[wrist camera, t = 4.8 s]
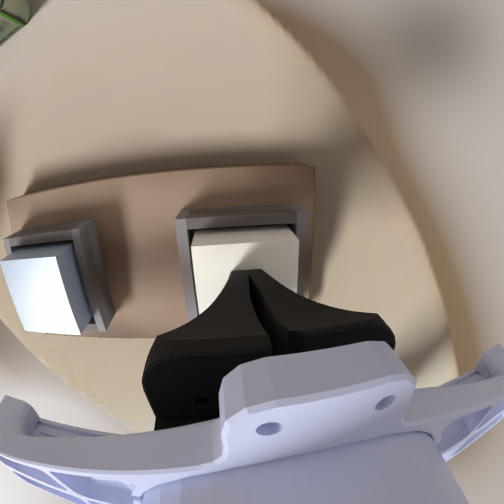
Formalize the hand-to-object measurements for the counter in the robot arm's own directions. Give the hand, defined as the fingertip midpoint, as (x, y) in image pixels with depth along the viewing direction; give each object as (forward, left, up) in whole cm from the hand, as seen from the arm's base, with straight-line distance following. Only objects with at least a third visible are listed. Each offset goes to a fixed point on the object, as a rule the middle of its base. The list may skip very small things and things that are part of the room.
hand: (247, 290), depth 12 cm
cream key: (0, 0, -2) cm, 2 cm away
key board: (0, +5, -5) cm, 8 cm away
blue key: (0, +11, -2) cm, 11 cm away
